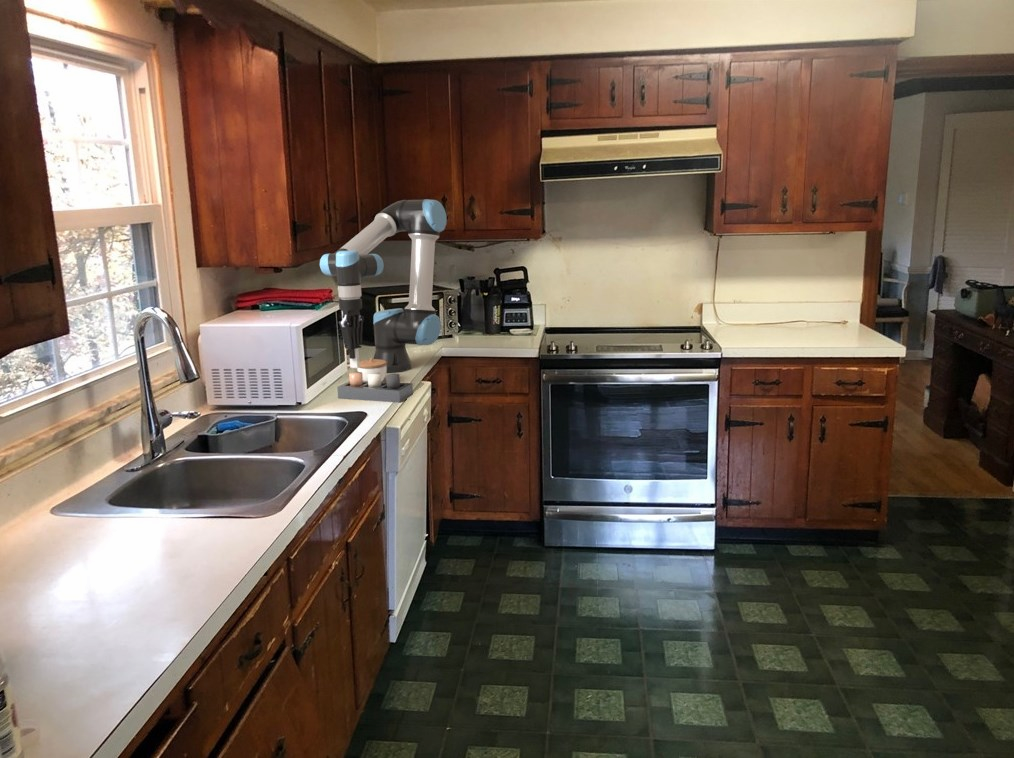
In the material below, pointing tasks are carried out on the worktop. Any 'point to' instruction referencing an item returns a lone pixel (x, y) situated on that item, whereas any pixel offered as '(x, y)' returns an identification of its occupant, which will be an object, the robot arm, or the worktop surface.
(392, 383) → the grey cup
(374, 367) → the lidded jar
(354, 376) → the pink rounded cylinder
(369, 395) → the dark grey tray
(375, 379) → the cream cup
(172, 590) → the worktop surface
